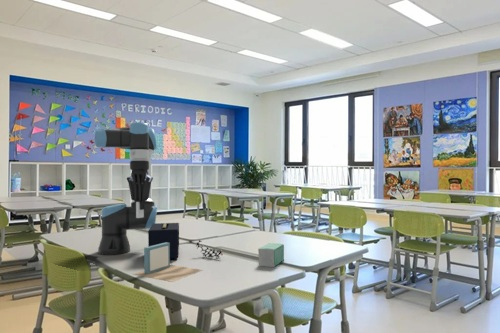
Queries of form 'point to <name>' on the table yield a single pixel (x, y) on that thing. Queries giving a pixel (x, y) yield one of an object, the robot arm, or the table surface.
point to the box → (271, 254)
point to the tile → (156, 257)
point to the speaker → (165, 236)
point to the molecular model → (209, 251)
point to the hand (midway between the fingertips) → (139, 217)
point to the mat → (170, 273)
